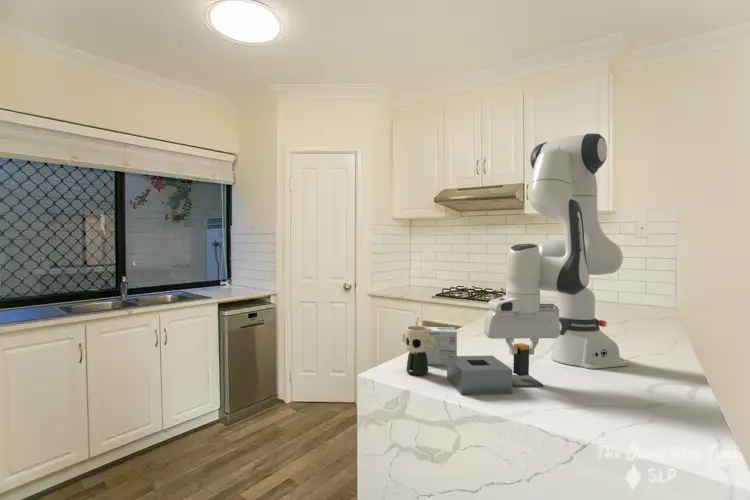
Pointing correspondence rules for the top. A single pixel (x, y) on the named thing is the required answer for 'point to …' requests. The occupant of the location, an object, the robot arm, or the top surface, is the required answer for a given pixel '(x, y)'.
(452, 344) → the light bulb box
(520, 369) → the block
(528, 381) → the mat
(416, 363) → the character mug
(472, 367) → the block
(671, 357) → the top surface
